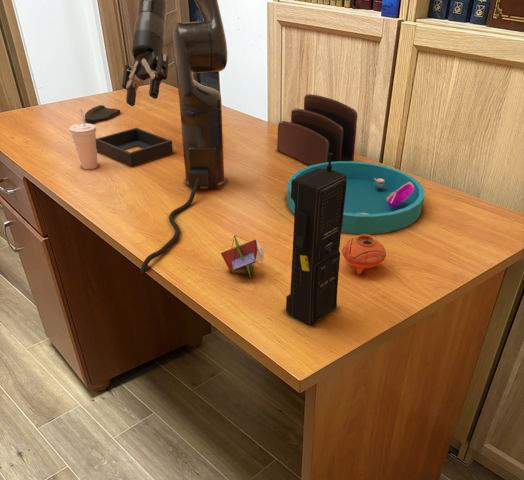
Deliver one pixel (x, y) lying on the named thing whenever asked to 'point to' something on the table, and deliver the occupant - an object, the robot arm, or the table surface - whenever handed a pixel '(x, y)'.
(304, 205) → the portable radio
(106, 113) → the curved wedge
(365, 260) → the pot
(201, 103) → the robot arm
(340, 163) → the round teal tray
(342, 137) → the letter holder
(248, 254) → the geometric puzzle
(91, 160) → the smoothie
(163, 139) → the dark grey rectangular frame
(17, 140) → the table surface
